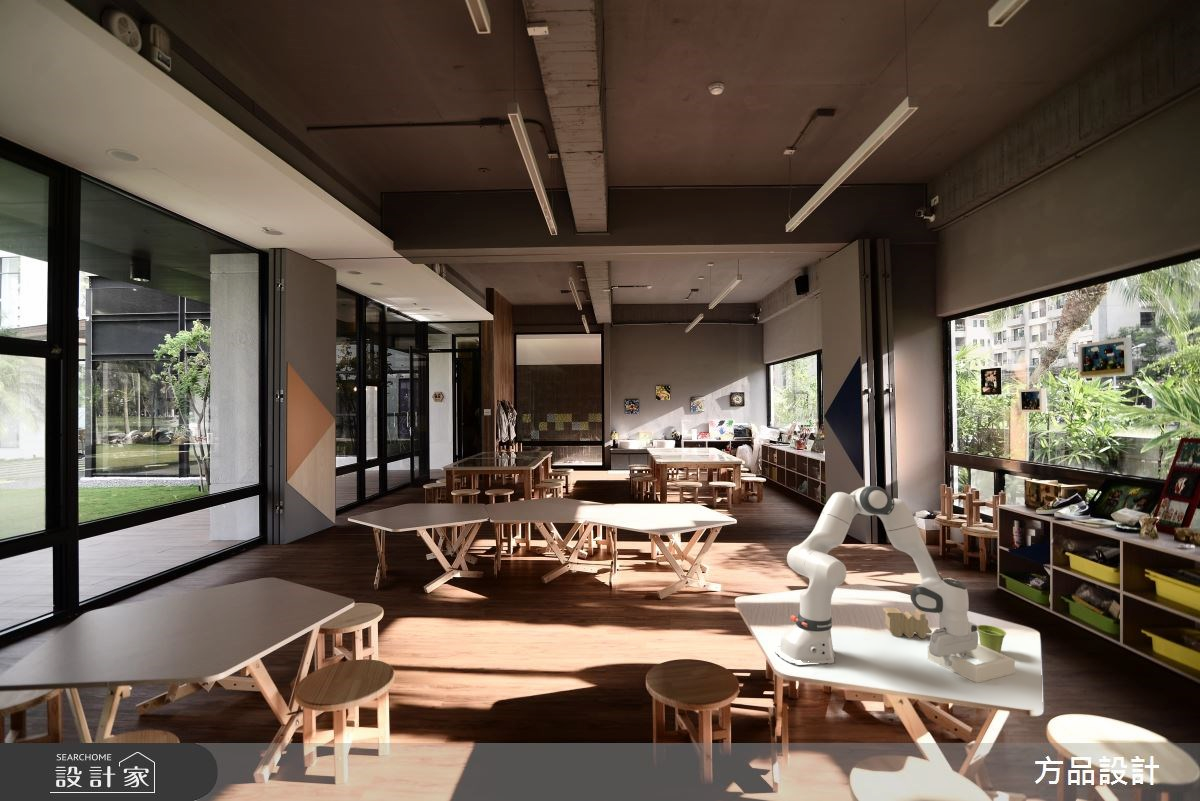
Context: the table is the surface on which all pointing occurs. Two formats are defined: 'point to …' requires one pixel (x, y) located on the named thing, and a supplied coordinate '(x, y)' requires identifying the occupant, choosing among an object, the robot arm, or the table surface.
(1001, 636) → the plant pot
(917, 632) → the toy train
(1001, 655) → the cream open tray
